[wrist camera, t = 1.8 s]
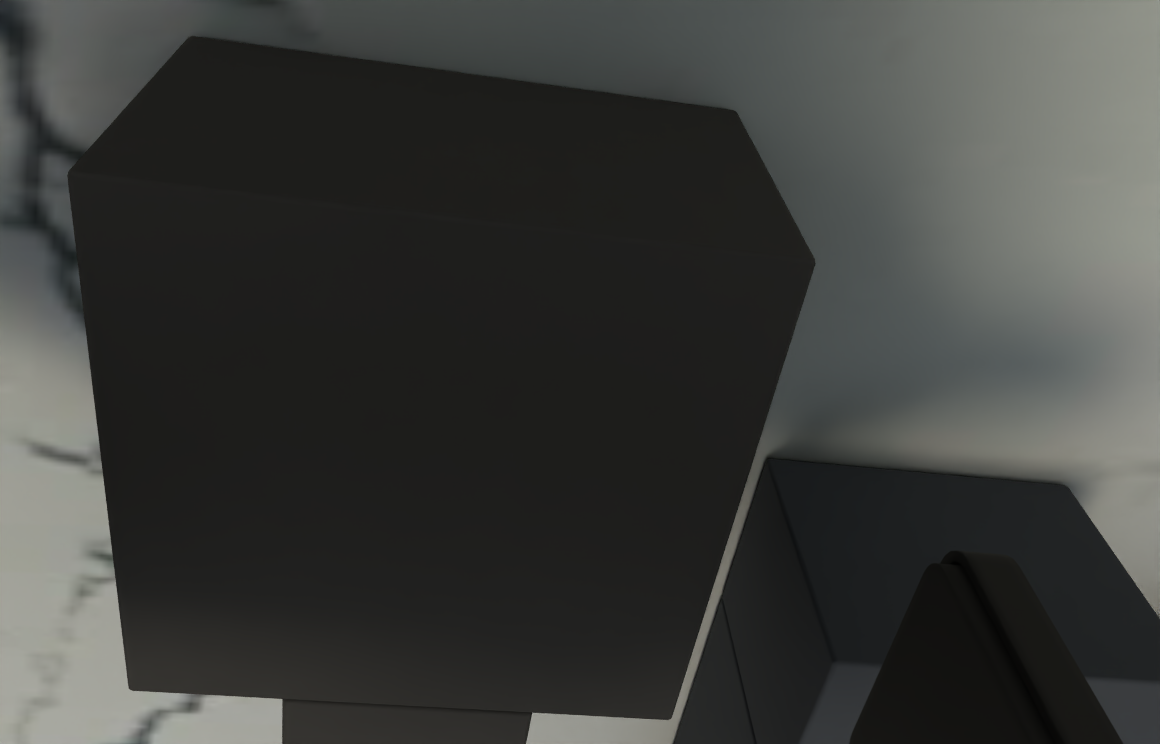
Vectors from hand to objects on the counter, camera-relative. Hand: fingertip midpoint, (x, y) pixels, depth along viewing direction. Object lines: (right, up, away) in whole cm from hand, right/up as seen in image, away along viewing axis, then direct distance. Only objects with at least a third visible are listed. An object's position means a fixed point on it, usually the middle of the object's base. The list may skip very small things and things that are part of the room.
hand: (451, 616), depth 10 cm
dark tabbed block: (-1, +2, +5) cm, 5 cm away
